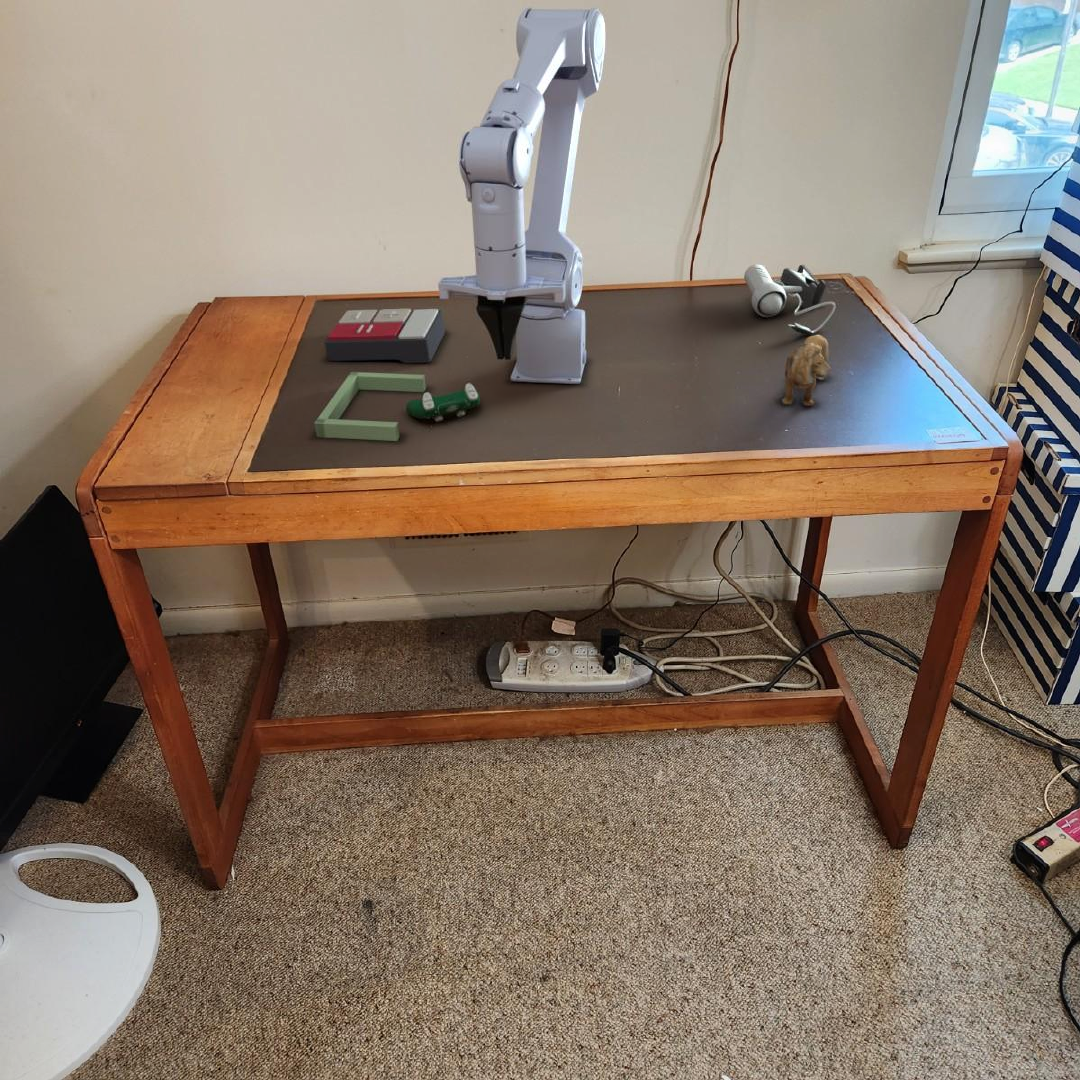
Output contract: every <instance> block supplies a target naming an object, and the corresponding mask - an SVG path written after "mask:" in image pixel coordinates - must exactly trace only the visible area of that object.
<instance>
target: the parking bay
mask: <svg viewBox="0 0 1080 1080" xmlns="http://www.w3.org/2000/svg"><path fill="white" fill-rule="evenodd" d="M426 389H427V385H426V376H425V374H411V373H410V374H409V373H385V372H364V371H363V372H362V371H361V372H360V371H351V372H350V373H349V374H348V376H347V377H346V378H345V380H344V381H343V382H342V383H341V385H340V387H339V388H338V390H337V391H336V392H335V393H334V395H333V396H332V398H331V399H330V400H329V402H328V403H327V405H326V406H325V407H324V409H323V410H322V411H321V413H320V415H319V416H318V417H317V419H316V420H315V421H314V428H315V432H316V438H325V439H327V438H328V439H345V440H367V441H385V442H386V441H388V442H398V440H399V438H400V437H401V436H400V430H399V429H400V428H399V422H398V421H397V422H396V421H380V420H379V421H376V420H357V419H355V420H354V419H340V418H341V416H343V414H344V412H345V411H346V409H347V407H348V406H349V405H350V403H351V402H352V401H353V399H354V398H355V396H356V394H357V393H358V391H359V390H362V391H363V390H365V391H387V392H405V393H406V392H409V393H425V391H426Z"/></svg>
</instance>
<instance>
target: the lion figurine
mask: <svg viewBox="0 0 1080 1080" xmlns="http://www.w3.org/2000/svg"><path fill="white" fill-rule="evenodd" d="M828 358H829V342H828V340H827V339H826V338H825V337H823V336H822V335H821V334H816V335H809V336H808V337H807V338H805V340H804V341H803V343H802V344H800V345H797V346H796V347H795V348H794V350H793V351H792V353H790V354H789V356H788V357H787V359H786V363H785V369H784V377H785V397H784V398H782V399H781V402H782V404H783V405H788V406H790V405H791V404H792V403H793V401H794V388H797V389H805V391H804V394H803V396H802V401H803V405H804V406H806V407H812V406H814V404H815V402H814V401H813V392H814V390H815V387H816V384H817V383H816V382H817V381H816V380H817V379H818V380H820V381H824V380H826V379H827V374H828V373H829V371H831V369H832V367H831V366H830V365H829V364H828Z"/></svg>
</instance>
